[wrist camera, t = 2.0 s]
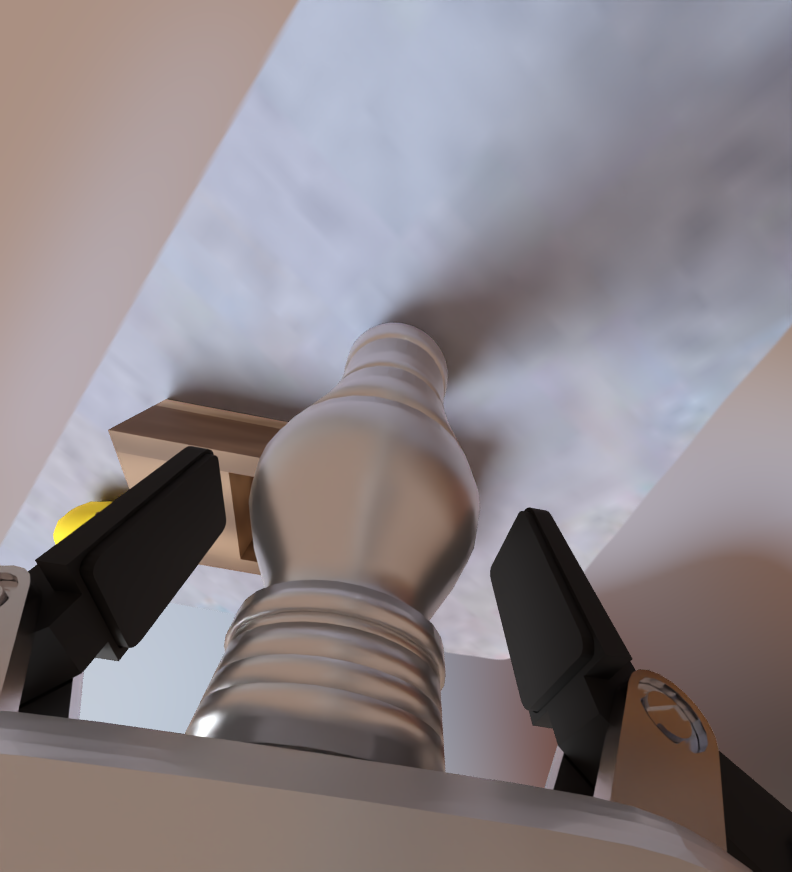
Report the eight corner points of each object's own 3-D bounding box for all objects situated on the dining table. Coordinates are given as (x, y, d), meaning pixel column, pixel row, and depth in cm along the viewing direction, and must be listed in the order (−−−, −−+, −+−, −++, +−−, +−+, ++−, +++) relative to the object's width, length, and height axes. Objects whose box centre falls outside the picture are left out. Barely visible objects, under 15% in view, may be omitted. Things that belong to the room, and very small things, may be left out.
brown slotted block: (166, 399, 24) (107, 429, 19) (454, 453, 25) (462, 495, 20) (192, 513, 30) (153, 556, 26) (420, 554, 31) (421, 602, 27)
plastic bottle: (394, 422, 24) (328, 847, 6) (334, 355, 21) (-29, 744, 4) (462, 373, 21) (653, 836, 4) (404, 293, 19) (258, 575, 2)
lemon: (139, 533, 34) (93, 579, 29) (89, 508, 32) (33, 552, 28) (153, 507, 30) (102, 555, 26) (97, 477, 28) (33, 523, 24)
